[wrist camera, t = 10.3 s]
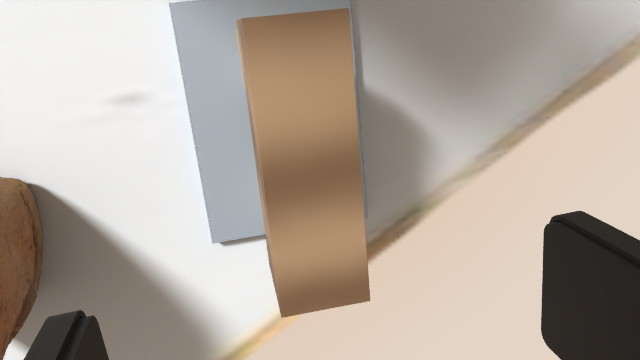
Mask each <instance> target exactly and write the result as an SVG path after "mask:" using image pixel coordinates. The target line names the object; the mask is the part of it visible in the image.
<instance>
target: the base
mask: <svg viewBox="0 0 640 360" xmlns="http://www.w3.org/2000/svg"><path fill="white" fill-rule="evenodd" d="M169 6H170V11H171V17H172V22H173V28H174V33H175V39H176V44H177V50H178V55H179V61H180V66H181V72H182V77H183V83H184V88H185V94H186V99H187V105H188V111H189V116H190V122H191V127H192V133H193V138H194V144H195V149H196V155H197V160H198V166H199V171H200V177H201V182H202V188H203V193H204V199H205V204H206V210H207V215H208V221H209V226H210V232H211V238H212V243H218V242H224V241H230V240H236V239H242V238H248V237H254V236H259V235H265V228H264V221H263V214H262V206H261V199H260V192H259V184H258V177H257V170H256V162H255V155H254V148H253V141H252V133H251V126H250V119H249V111H248V104H247V97H246V89H245V82H244V75H243V68H242V60H241V53H240V46H239V38H238V31H237V24H236V20H238V19H241V18H250V17H260V16H271V15H281V14H291V13H302V12H312V11H323V10H333V9H344V8H349V12H350V26H351V40H352V54H353V68H354V82H355V96H356V110H357V124H358V138H359V152H360V166H361V180H362V194H363V207H364V218H365V217H367V204H366V191H365V179H364V166H363V153H362V140H361V127H360V114H359V101H358V88H357V76H356V63H355V50H354V37H353V24H352V11H351V0H196V1H186V2H176V3H169Z"/></svg>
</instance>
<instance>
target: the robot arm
mask: <svg viewBox="0 0 640 360" xmlns="http://www.w3.org/2000/svg"><path fill="white" fill-rule="evenodd" d="M541 332H542V336H543V339H544V341H545V343H546V344H547V346H548V347H549V348H550V349H551V350H552V351H553V352H554V353H555V354H556V355H557V356H558V357H559V358H560V359H561V360H640V240H638V239H636V238H634V237H632V236H630V235H628V234H626V233H624V232H622V231H620V230H618V229H616V228H614V227H612V226H610V225H609V224H607V223H605V222H602V221H601V220H599V219H597V218H595V217H593V216H590V215H589V214H587V213H585V212H582V211H576V212H571V213H566V214H561V215H556V216H554V217H552V218H551V221H550V223H549V224H547V225H546V226H545V228H544V246H543V283H542V317H541ZM24 360H109V358H108V355H107V351H106V348H105V345H104V341H103V338H102V334H101V331H100V328H99V324H98V321H97V319H96V317H95V316H89V317H86V315H85V313H84V312H83V311H81V310H80V311H75V312H70V313H65V314H60V315H55V316H50V317H48V318H47V319H46V321H45V322H44V324H43V326H42V328H41V330H40V331H39V333H38V335H37V337H36V339H35V340H34V342H33V344H32V346H31V348H30V349H29V351H28V353H27V355H26V357H25V358H24Z"/></svg>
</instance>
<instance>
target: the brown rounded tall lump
mask: <svg viewBox="0 0 640 360" xmlns="http://www.w3.org/2000/svg"><path fill="white" fill-rule="evenodd" d="M41 259H42V233H41V224H40V218H39V212H38V209H37V207H36V203H35V198H34V196H33V194H32V192H31V190H30V189H29V187H28V186H27V185H26V184H25V182H23V181H21V180H19V179H13V178H3V177H0V360H3V357H4V355H5V352H6V349H7V347H8V345H9V344H10V342H11V341H12V339H13V338H14V337H15V336H16V334H17V333H18V332H19V330H20V329H21V327H22V326H23V323H24V322H25V320H26V318H27V317H28V315H29V313H30V311H31V309H32V307H33V304H34V302H35V299H36V291H37V288H38V282H39V277H40V271H41Z"/></svg>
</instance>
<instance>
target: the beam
mask: <svg viewBox="0 0 640 360" xmlns="http://www.w3.org/2000/svg"><path fill="white" fill-rule="evenodd" d="M236 24H237V31H238V38H239V46H240V53H241V60H242V68H243V75H244V82H245V89H246V97H247V104H248V111H249V119H250V126H251V133H252V141H253V148H254V155H255V162H256V170H257V177H258V184H259V192H260V199H261V206H262V214H263V221H264V228H265V235H266V243H267V250H268V257H269V264H270V269H271V273H272V278H273V282H274V286H275V291H276V295H277V299H278V304H279V308H280V313H281V317H288V316H293V315H298V314H303V313H309V312H314V311H318V310H324V309H329V308H334V307H340V306H345V305H350V304H355V303H361V302H366V301H370V291H369V277H368V263H367V249H366V235H365V221H364V207H363V194H362V180H361V166H360V152H359V138H358V124H357V110H356V96H355V82H354V68H353V54H352V40H351V26H350V12H349V8H344V9H333V10H323V11H312V12H302V13H291V14H281V15H271V16H260V17H250V18H241V19H238V20H236Z"/></svg>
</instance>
